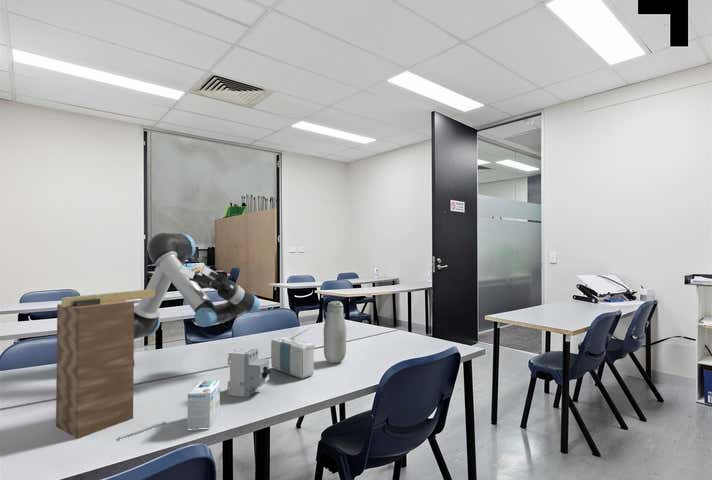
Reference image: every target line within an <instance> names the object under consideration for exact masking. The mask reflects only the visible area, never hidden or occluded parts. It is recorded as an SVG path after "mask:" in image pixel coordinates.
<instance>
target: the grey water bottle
mask: <svg viewBox="0 0 712 480" xmlns="http://www.w3.org/2000/svg"><path fill="white" fill-rule="evenodd" d="M326 310H327V311H326V318H325V321H324V324H323V355H324V358H325V360H326V361H327V362H329V363H330V364H339V363H341V362H342V361H344V360H345V357H346V353H347V324H346V320H345V316H344V305H343V303H342V302H341V301H340V300H331V301H330V302H329V303H328V304H327V307H326Z"/></svg>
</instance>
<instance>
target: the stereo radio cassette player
mask: <svg viewBox="0 0 712 480" xmlns="http://www.w3.org/2000/svg"><path fill="white" fill-rule="evenodd" d="M309 329H310V330H311V329H312V327H311V326H310V327H309V328H307V329H305V330H304V331H301V332H300V333H297V334H296V335H294V336H292V337H290V336H283V337H277V338H273V339H271V342H270V359H271V361H270V362H271V368H273V369H274V370H277V371H280V372H283V373H285V374H287V375H290V376H293V377H296V378H299V379H301V380H303V379H305V378H309V377H310V376H311V377H312V376H313V375H314V372H315V371H314V370H315V368H314V366H315V365H314V362H315V359H314V357H315V356H314V354H315V353H314V352H315V351H314V350H315V347H316V346H315V343H312V342H308V341H305V340H300V339H297V338H296V337H297V336H298V337H299V336H300V335H301V334H303V333H305V332H306V331H308V330H309Z"/></svg>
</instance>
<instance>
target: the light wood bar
mask: <svg viewBox="0 0 712 480" xmlns="http://www.w3.org/2000/svg"><path fill="white" fill-rule="evenodd" d="M151 297H155V290H153V289H148V290H146V289H140V290H139V289H138V290H137V289H136V290H129V291H120V292H119V291H117V292H108V293H107V292H106V293H98V294H97V293H95V294H86V295H76V296H67V297H61V302H60V304H61V306H62V307H73V306H75V301H82V300H91V299H100V303H108V302H116V301H131V300H132V301H133V300H141V299H143V298H151Z"/></svg>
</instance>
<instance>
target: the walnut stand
mask: <svg viewBox="0 0 712 480" xmlns="http://www.w3.org/2000/svg"><path fill="white" fill-rule="evenodd" d="M56 306H57V307H56V309H57V310H56V311H57V312H56V314H57V315H56V318H57V319H56V380H55V381H56V387H55V389H56V390H55V391H56V393H55V395H56V396H55V397H56V398H55V401H56V402H55V427H56V428H58V429H60V430H61V431H63V432H65V433H66V434H68V435H70V436H72V437H74V438H76V439H81V438H84V437H86V436H87V437H88V436H89V435H91V434H95V433H97V432H100V431H103V430H106V429H107V428H111V427H113V426H116V425H119V424H122V423H125V422H127V421H129V420H132V419H134V376H135V375H134V369H135V359H134V358H135V357H134V355H135V352H134V349H135V348H134V347H135V343H134V342H135V341H134V340H135V339H134V306H135V301H133V300H132V301H131V300H125V301H116V302H108V303H100V299H91V300H82V301H75V306H73V307H62V306H61V303H60V304H59V303H58V304H57V305H56Z"/></svg>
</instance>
